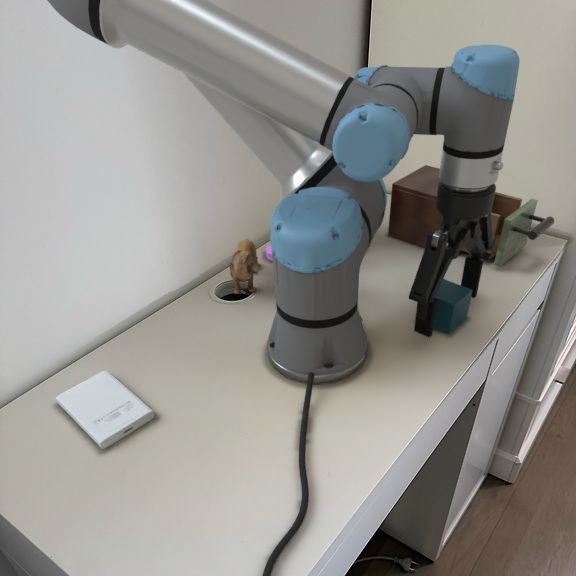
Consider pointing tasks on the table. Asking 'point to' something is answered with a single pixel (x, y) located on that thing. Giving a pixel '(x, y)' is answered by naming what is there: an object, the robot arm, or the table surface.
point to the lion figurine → (244, 265)
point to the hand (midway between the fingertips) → (446, 313)
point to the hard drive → (105, 408)
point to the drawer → (513, 226)
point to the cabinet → (415, 206)
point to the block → (451, 306)
